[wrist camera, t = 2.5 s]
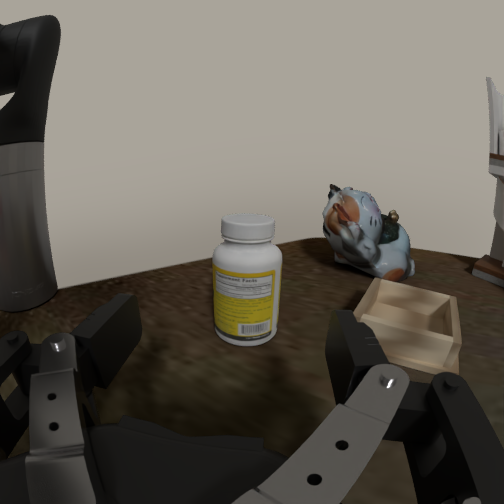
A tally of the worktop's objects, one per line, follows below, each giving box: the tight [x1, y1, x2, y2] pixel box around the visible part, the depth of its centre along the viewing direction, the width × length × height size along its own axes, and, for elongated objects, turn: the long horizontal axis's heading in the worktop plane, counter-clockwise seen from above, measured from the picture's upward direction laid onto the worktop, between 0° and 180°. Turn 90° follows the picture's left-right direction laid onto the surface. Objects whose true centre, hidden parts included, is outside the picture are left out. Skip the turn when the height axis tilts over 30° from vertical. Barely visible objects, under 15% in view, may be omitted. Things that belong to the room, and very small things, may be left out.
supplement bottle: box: [213, 214, 282, 346], centre depth 23 cm, size 5×5×10 cm
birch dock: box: [353, 277, 462, 375], centre depth 23 cm, size 11×10×3 cm
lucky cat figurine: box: [323, 184, 415, 282], centre depth 39 cm, size 15×12×14 cm
